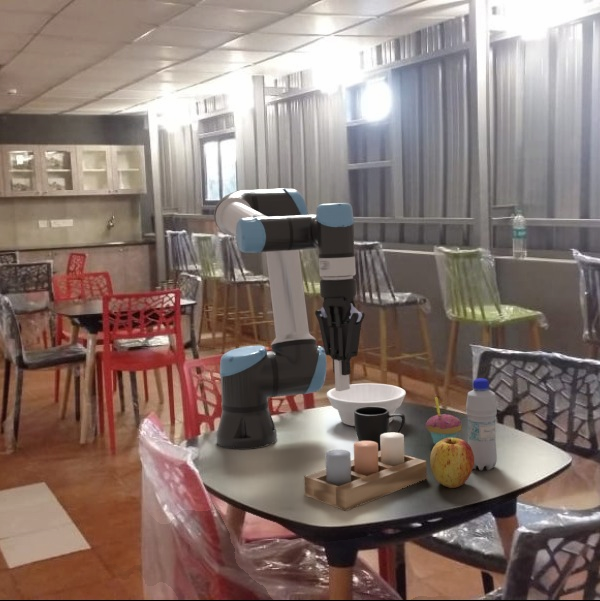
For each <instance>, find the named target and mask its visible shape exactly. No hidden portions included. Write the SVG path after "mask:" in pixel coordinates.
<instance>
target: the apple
mask: <svg viewBox="0 0 600 601" xmlns="http://www.w3.org/2000/svg"><path fill="white" fill-rule="evenodd" d="M429 461H430V462H429V463H430V464H429V465H430V468H431V471H432V473H433V476H434V478H435V479H436V481H437V482H438V483H439V484H441V485H442V486H444V487H446V488H449V489H454V488H459V487H462V485H463V484H465V483H466V481H468V479H469V478H470V476H471V474H472V472H473V470H474V469H473V466H474V455H473V451H472V449H471V447H470V445H469V444H468V441H466V440H464V439H461V438H458V437H456V438H445V439H443V440H441V441H439V442H438V443H436V444H434V446H433V448H432V450H431V452H430V458H429Z"/></svg>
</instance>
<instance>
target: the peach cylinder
mask: <svg viewBox="0 0 600 601" xmlns="http://www.w3.org/2000/svg"><path fill="white" fill-rule="evenodd" d="M353 460H354V470H355V472H356V473H359V474H362V475H365V476H368V475H371V474H374V473H377V472H379V467H378V443H376V442H374V441H356V442H354V443H353Z"/></svg>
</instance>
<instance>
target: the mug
mask: <svg viewBox="0 0 600 601" xmlns="http://www.w3.org/2000/svg"><path fill="white" fill-rule="evenodd" d="M391 417H393V418H394V417H400V418H401V423H400V426H399V428H398V429H397V431H396V433H401V432H402V430H403V428H404V427H405V423H406V415H405V414H403V413H394V414H389V410H388V409H386V408H383V407H375V406H369V407H361V408H358V409H356V410H355V411H354V422H355V426H354V429H355V434H356V438H357V442H359V441H374V442H376V443H378V451H381V446H380V435H381V434H384V433H389V429H390V428H389V427H390V423H389V418H391Z"/></svg>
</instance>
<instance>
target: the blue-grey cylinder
mask: <svg viewBox="0 0 600 601" xmlns="http://www.w3.org/2000/svg"><path fill="white" fill-rule="evenodd" d="M351 455H352V454H351V452H350V451H349V450H346V449H331V450H328V451H326V452H325V469H326V481H327V483H330V484H333V485H336V486H341V485H344V484H346V483H349V482H351V459H352V458H351Z"/></svg>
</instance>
